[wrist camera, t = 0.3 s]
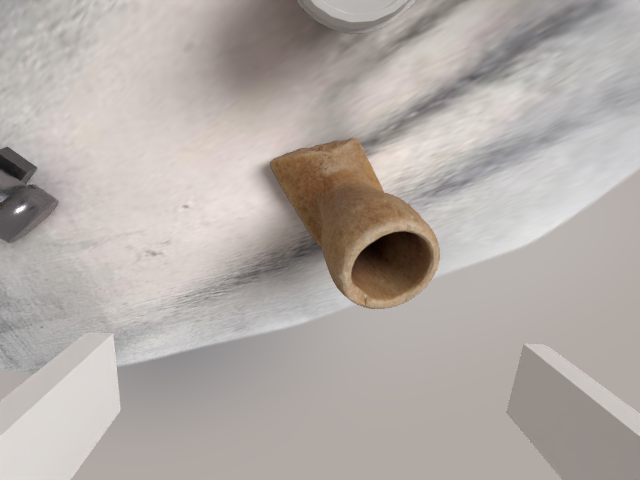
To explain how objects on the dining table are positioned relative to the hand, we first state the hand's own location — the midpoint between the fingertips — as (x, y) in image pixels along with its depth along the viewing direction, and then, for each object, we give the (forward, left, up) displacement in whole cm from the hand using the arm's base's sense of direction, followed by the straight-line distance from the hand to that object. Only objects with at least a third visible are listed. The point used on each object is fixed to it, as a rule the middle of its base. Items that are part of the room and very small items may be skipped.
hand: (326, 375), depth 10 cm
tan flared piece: (+1, +7, -28) cm, 29 cm away
